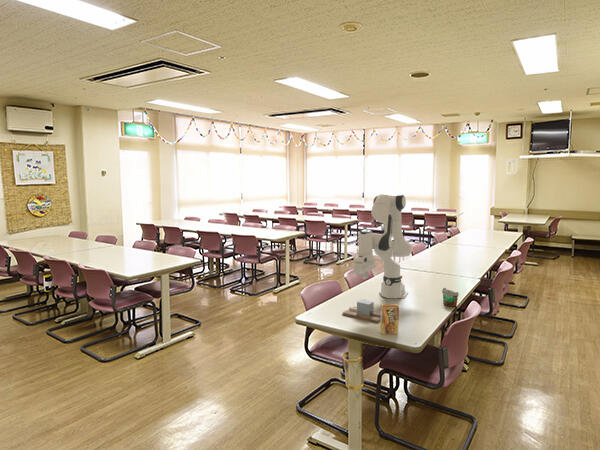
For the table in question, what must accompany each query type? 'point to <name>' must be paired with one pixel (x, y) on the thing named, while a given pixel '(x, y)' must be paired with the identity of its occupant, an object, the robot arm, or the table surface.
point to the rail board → (372, 318)
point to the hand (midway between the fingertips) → (364, 278)
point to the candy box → (389, 319)
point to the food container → (450, 298)
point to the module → (365, 307)
